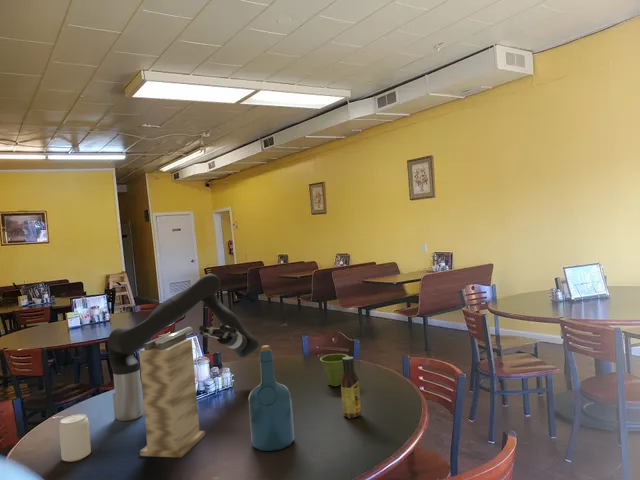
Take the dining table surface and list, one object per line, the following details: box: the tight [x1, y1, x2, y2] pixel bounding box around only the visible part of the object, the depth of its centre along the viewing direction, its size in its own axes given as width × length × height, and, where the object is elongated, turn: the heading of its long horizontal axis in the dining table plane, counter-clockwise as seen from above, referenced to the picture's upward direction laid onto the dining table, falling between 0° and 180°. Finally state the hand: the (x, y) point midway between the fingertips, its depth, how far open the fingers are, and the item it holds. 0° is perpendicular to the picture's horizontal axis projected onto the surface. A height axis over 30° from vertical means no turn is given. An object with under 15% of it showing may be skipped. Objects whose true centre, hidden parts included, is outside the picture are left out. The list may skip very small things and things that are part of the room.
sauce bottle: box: [340, 356, 362, 418], centre depth 161 cm, size 6×6×20 cm
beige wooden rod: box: [154, 326, 194, 348], centre depth 153 cm, size 20×2×2 cm, turn 167°
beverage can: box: [58, 413, 92, 463], centre depth 146 cm, size 8×8×12 cm
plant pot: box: [319, 353, 350, 386], centre depth 195 cm, size 12×12×11 cm
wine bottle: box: [247, 344, 295, 452], centre depth 144 cm, size 14×13×30 cm
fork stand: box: [138, 332, 206, 458], centre depth 148 cm, size 14×15×34 cm
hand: (210, 327), depth 177 cm, fingers open, 8 cm apart
